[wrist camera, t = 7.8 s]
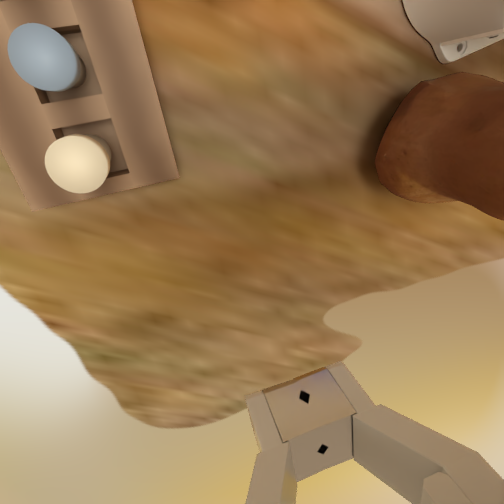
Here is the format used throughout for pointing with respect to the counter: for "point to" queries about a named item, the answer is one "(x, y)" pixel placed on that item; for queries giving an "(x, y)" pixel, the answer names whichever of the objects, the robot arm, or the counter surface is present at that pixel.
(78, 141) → the plunger cream
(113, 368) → the counter surface
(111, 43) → the wooden board with holes
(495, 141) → the brown rounded block
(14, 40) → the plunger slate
